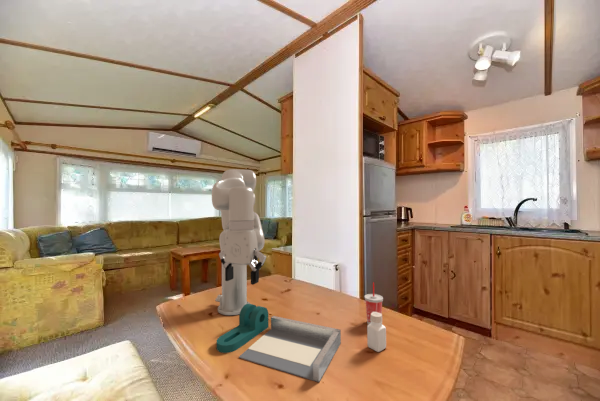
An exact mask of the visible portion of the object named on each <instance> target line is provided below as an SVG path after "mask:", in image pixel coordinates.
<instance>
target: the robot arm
mask: <svg viewBox="0 0 600 401" xmlns="http://www.w3.org/2000/svg"><path fill="white" fill-rule="evenodd" d="M221 175H222V176H221V180H219V181H217V182H215V183H214V184H213V186H212V189H211V204H212V206H213V208H214V209H215V210H217V211H220V214H221V217H220V218H221V226H222V229H223V230H222V231H221V233H220V234H219V238H218V239H219V248H220V252H219V253H218V256H219V258H220V262H221V294H217V296H216V298H215V302H218V303H219V305H218V307H217V312H218V313H219V314H221V315H224V316H238V315H240V311H241V309H242V308H243V306H244V305H245V304H251V302H249V301H247V300H248V298H247V296H248V295H247V294H248V291H247V290H248V289H247V287H248V285H247V283H248V282H247V279H248V277H247V276H248V275H247V274H248V272H247V269H248V268H247V266H249V267H250V268H251V271H250V285H253V286H254V285H255V284H258V283H259V281H260V270H261V268H262V267H263V266H264V264H265V262H266V259H267V255H265V254H264V253H262V252H261V250H263V248H264V247H265V234H264V231H263V225H262V222H261V219H260V216H259V214H258V213H257V212H255V211H254V206H255V204H256V195H255V193H254V192H255V189H256V187H257V177H256V176H257V175H256V172H254V171H253V170H252V169H241V168H240V169H239V168H238V169H237V168H230V169H226V170H225V171H224V172H223V173H222V174H221ZM258 259H259V260H258Z"/></svg>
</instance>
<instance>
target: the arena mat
mask: <svg viewBox="0 0 600 401" xmlns="http://www.w3.org/2000/svg"><path fill="white" fill-rule="evenodd" d="M326 343H327V342H325V341H320V340H316V339H312V338H307V337H303V336H299V335H295V334H290V333H286V332H282V331H277V330H273V329H271V328H270V329H269V330H268V331H267V332H266V333H265V334H263V335H262V336H261V337H260V338H258V340H256V341H255V342H253V344H252V345H250V346H248V348H247V349H245V351H244V352H242V353H241V354H240V355H239V356H238V358H239V359H242V360H245V361H247V362H248V361H249V362H251V363H254V364H259V365H261V366H264V367H268V368H270V369H274V370H278V371H281V372H283V373H286V374H290V375H293V376H297V377H300V378H304V379H307V380H310V381H313V363H314V361H315V360H316V358H317V357H318V355H319V354H320V352H321V351H322V349H323V347H324V346H325V344H326ZM341 344H342V342H341V343H340V345H341ZM339 347H340V346H338V348H337V350H336V352H335V354H336V353H337V351H338V349H339ZM334 356H335V355H333V357H332V359H331V361H330V363H329V365H328V366H327V369H328V368H329V366H330V364H331V362H332V361H333V358H334ZM327 369H326V370H325V372H326V371H327ZM324 375H325V373H324V374H323V376H324ZM323 376H322V377H321V379H320V381H322V379H323ZM314 382H316V380H315V381H314ZM316 383H319V382H318V381H317V382H316Z"/></svg>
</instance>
